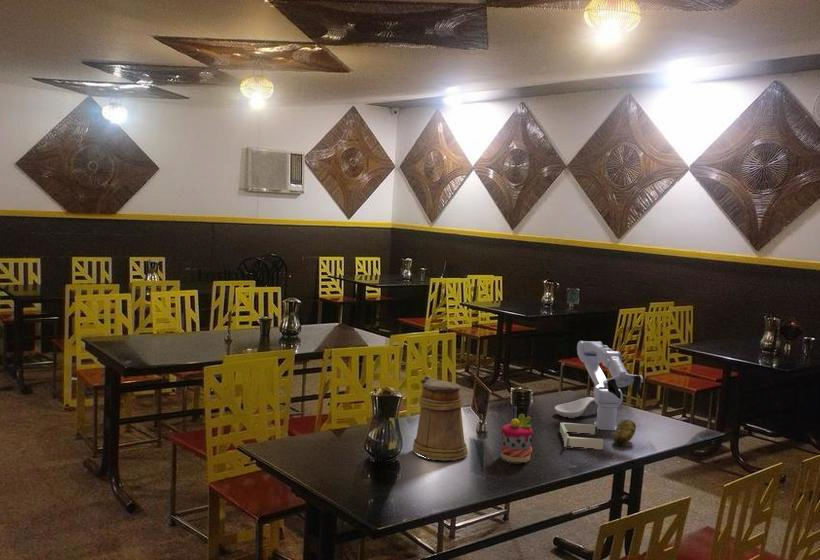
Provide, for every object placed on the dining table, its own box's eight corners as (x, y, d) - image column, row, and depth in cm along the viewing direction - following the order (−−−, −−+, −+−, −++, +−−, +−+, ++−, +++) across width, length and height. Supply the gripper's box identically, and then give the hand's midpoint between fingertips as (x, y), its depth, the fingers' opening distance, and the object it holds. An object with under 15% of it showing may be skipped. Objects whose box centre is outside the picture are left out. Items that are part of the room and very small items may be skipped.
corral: (559, 431, 288) (560, 422, 288) (594, 433, 287) (594, 424, 287) (565, 447, 269) (566, 437, 268) (602, 449, 268) (603, 440, 267)
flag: (563, 447, 268) (564, 429, 267) (566, 447, 268) (567, 429, 267) (564, 450, 265) (565, 432, 264) (567, 450, 265) (568, 432, 264)
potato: (603, 443, 275) (605, 422, 274) (622, 437, 284) (624, 416, 283) (623, 449, 269) (625, 427, 268) (642, 442, 278) (643, 421, 277)
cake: (523, 466, 246) (526, 422, 245) (494, 460, 251) (497, 416, 250) (535, 458, 255) (538, 415, 254) (507, 452, 260) (509, 410, 259)
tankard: (431, 466, 243) (435, 391, 240) (396, 445, 263) (399, 375, 261) (477, 458, 252) (481, 386, 250) (440, 439, 272) (443, 371, 270)
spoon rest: (566, 421, 303) (567, 404, 302) (548, 414, 313) (549, 397, 312) (611, 416, 313) (612, 400, 313) (592, 409, 324) (593, 393, 323)
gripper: (599, 366, 282) (610, 389, 271) (637, 361, 282) (650, 383, 271) (599, 381, 286) (610, 404, 274) (637, 376, 286) (649, 398, 274)
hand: (630, 395), depth 273 cm, fingers open, 7 cm apart
